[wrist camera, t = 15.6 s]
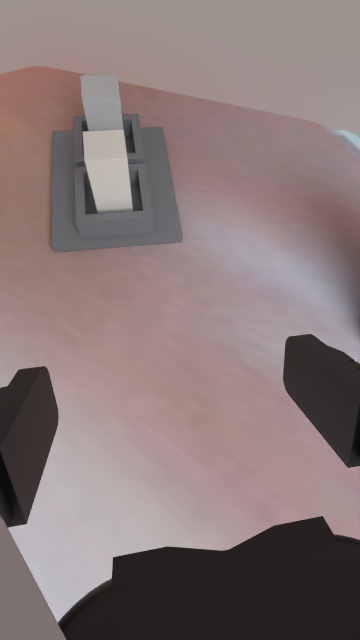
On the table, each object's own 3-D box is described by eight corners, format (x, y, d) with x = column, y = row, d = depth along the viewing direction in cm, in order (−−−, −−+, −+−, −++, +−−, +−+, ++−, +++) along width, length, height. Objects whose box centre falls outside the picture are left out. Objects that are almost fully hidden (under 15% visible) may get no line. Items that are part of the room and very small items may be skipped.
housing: (162, 135, 55) (162, 58, 44) (181, 241, 46) (188, 177, 35) (55, 139, 52) (29, 60, 42) (54, 252, 43) (21, 187, 33)
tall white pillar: (130, 193, 47) (123, 129, 38) (133, 218, 45) (127, 157, 36) (97, 196, 46) (82, 131, 37) (99, 221, 44) (84, 160, 35)
